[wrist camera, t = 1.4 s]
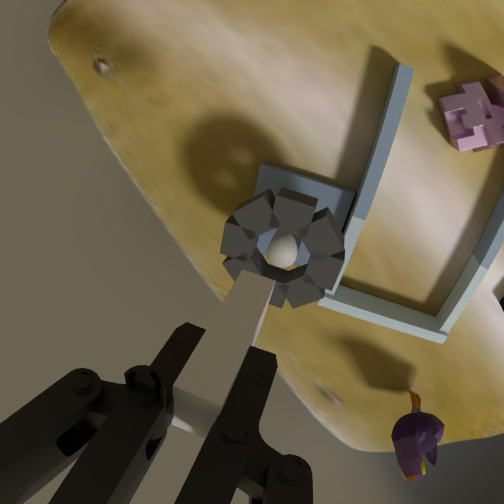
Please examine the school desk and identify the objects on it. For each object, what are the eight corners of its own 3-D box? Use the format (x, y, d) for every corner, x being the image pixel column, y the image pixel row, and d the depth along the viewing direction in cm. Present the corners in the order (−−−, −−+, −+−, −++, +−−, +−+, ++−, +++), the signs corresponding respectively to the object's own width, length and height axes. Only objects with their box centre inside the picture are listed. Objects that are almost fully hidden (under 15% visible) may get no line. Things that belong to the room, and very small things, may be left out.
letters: (452, 158, 24) (474, 174, 19) (431, 86, 22) (452, 85, 17) (518, 142, 21) (548, 155, 16) (500, 73, 18) (531, 72, 13)
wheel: (241, 175, 24) (232, 182, 23) (359, 212, 23) (360, 222, 21) (222, 272, 29) (214, 284, 28) (321, 306, 28) (318, 320, 26)
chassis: (292, 36, 23) (273, 18, 17) (531, 136, 20) (572, 153, 13) (240, 261, 36) (215, 301, 29) (438, 326, 32) (448, 373, 26)
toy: (397, 456, 36) (436, 464, 32) (368, 476, 29) (417, 488, 24) (415, 389, 39) (455, 394, 35) (391, 393, 32) (444, 400, 27)
